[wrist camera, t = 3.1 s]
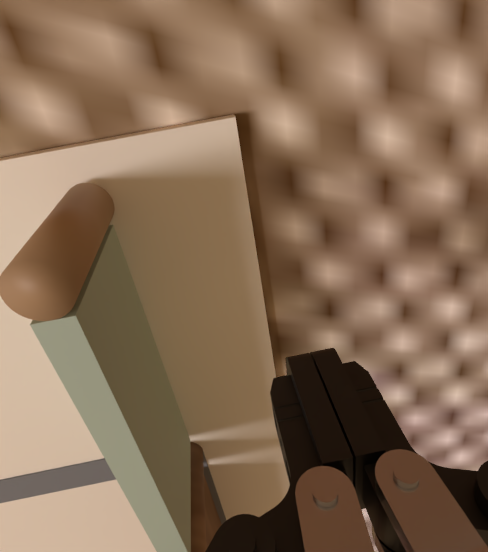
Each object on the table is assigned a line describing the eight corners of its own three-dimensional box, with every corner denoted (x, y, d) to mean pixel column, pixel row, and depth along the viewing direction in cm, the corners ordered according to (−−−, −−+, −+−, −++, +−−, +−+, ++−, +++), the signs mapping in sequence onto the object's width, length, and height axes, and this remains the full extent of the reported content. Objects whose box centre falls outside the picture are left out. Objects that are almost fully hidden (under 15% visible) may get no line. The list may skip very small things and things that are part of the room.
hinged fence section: (105, 178, 14) (59, 253, 9) (195, 439, 22) (197, 557, 17) (57, 187, 14) (-16, 267, 9) (164, 446, 22) (157, 566, 17)
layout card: (233, 114, 15) (235, 117, 14) (302, 549, 33) (304, 559, 32) (-418, 235, 14) (-444, 244, 14) (12, 611, 32) (8, 622, 31)
